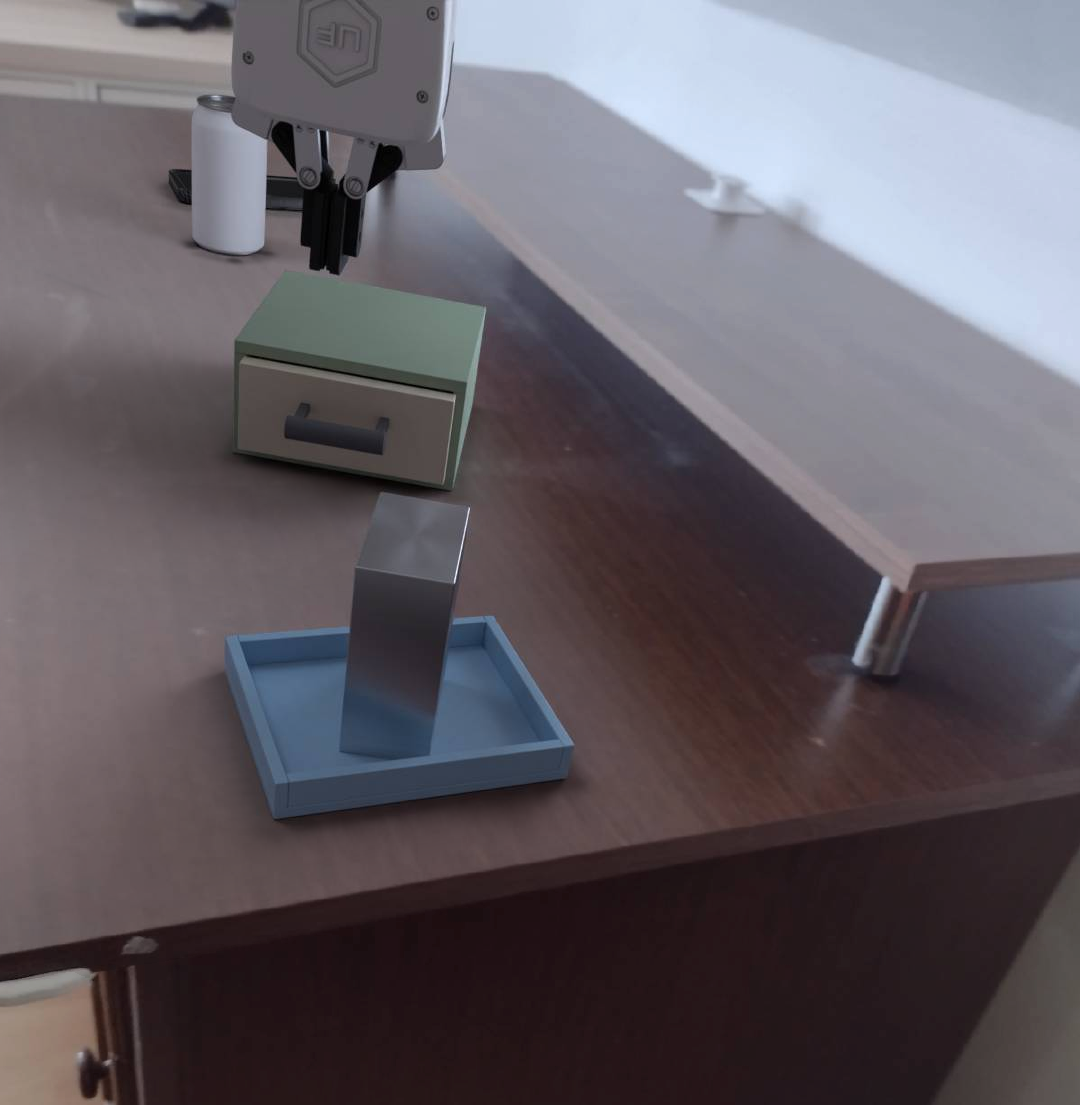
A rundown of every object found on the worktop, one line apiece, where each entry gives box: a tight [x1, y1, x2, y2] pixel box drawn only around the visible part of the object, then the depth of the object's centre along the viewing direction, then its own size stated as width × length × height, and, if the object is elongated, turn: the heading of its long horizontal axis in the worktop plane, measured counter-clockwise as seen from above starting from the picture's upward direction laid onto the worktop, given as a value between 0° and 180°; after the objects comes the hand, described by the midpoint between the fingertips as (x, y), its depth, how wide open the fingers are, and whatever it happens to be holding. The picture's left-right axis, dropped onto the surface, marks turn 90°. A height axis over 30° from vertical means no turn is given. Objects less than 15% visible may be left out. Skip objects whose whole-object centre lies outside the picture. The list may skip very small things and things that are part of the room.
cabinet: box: [232, 269, 487, 492], centre depth 82 cm, size 15×15×8 cm
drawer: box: [238, 356, 456, 485], centre depth 79 cm, size 17×13×6 cm
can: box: [191, 94, 268, 256], centre depth 107 cm, size 6×6×12 cm
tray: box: [224, 615, 575, 820], centre depth 58 cm, size 14×11×2 cm
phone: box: [168, 168, 304, 211], centre depth 123 cm, size 8×1×15 cm
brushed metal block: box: [339, 491, 471, 760], centre depth 55 cm, size 4×7×10 cm, turn 177°
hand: (329, 264), depth 64 cm, fingers closed
